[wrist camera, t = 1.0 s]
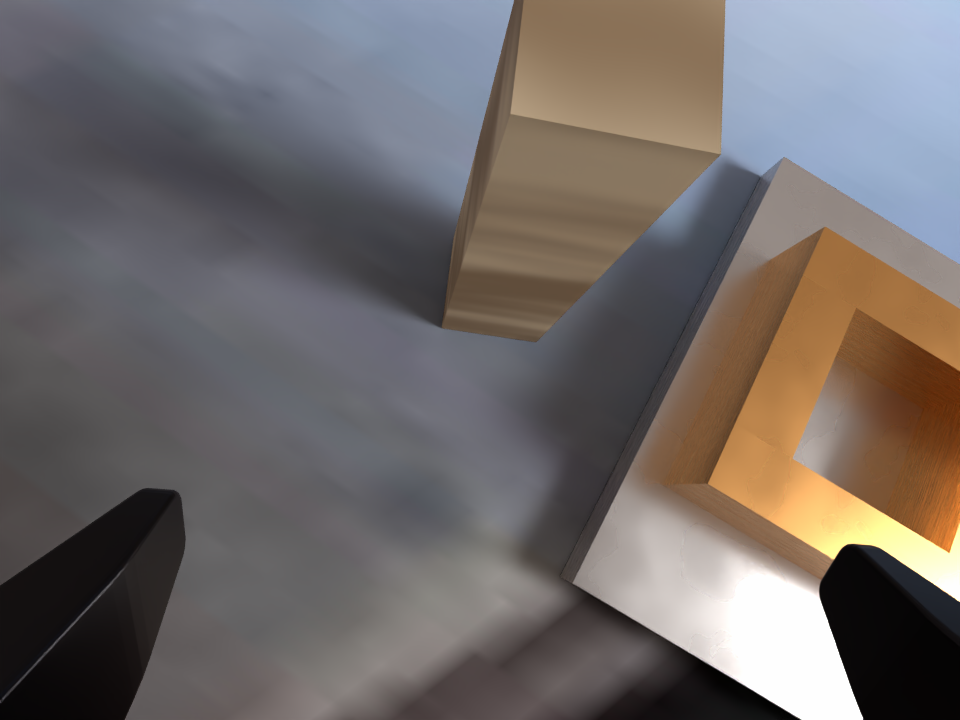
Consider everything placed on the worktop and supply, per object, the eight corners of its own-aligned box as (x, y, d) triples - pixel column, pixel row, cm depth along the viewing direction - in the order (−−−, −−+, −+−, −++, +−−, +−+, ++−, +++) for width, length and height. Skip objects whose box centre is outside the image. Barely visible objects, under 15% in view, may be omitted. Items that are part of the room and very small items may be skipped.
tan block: (536, 342, 23) (721, 153, 10) (441, 328, 22) (510, 114, 10) (544, 253, 23) (725, -24, 11) (453, 238, 23) (532, -68, 10)
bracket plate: (858, 754, 21) (980, 822, 17) (559, 576, 21) (604, 598, 17) (1006, 325, 26) (1132, 292, 21) (761, 175, 26) (838, 110, 21)
